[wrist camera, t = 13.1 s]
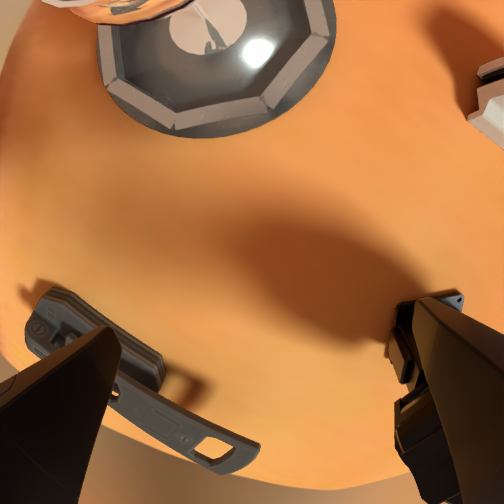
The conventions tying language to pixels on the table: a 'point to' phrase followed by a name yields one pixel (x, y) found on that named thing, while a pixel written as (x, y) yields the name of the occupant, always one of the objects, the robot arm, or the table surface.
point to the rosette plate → (219, 70)
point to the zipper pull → (135, 382)
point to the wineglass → (181, 23)
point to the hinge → (490, 102)
